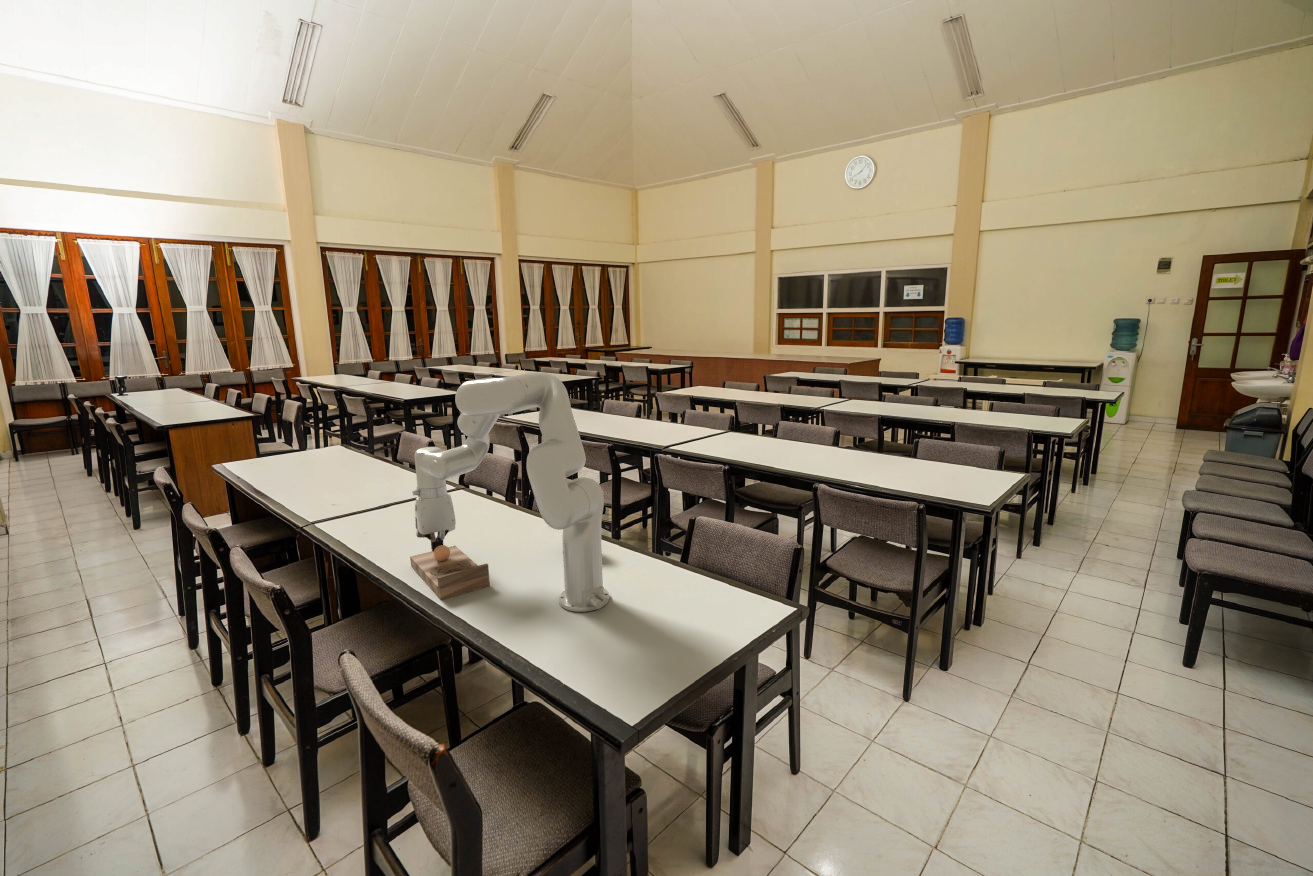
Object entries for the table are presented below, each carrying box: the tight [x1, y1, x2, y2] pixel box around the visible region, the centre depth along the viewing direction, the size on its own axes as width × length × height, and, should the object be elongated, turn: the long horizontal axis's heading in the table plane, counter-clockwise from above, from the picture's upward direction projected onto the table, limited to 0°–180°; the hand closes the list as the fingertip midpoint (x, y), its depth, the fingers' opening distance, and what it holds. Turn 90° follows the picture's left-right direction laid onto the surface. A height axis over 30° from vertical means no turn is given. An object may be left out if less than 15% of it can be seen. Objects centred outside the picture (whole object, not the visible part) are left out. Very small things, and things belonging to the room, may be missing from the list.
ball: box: [434, 544, 450, 561], centre depth 167 cm, size 4×4×4 cm
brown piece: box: [409, 545, 491, 601], centre depth 164 cm, size 26×13×6 cm, turn 37°
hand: (438, 552), depth 171 cm, fingers closed
